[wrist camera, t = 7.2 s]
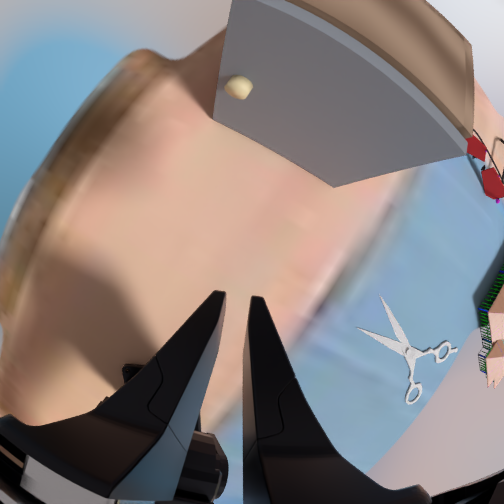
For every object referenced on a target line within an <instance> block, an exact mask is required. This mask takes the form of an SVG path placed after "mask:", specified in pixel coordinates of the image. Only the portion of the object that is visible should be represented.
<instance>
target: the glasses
mask: <svg viewBox="0 0 504 504" xmlns="http://www.w3.org/2000/svg"><path fill="white" fill-rule="evenodd" d="M473 131H474V132H475V133H476V134H477V136H478V137H479V139H480V140H481V142H482V143H481V142H480V141H479V140H478V139H477V138H476V137H475V136H474V135H473V137H470V138H467V139H465V140H466V141H467V142H468V145H467V153H469V154H471V155H472V156H473V158H472V159H474V158H478V159H480V160H482V161H484V162H485V155H486V152H488V154H489V156H490V158H491V160H492V162H493V164H494V165H495V163H494V161H493V159H492V157H491V155H490V153H489V151H488V150H487V148H486V146H485V144H484V143H483V141H482V139H481V138H480V136H479V135H478V133H477V132H476V131H475V130H474V129H473ZM501 142H502V143H503V144H504V141H503V139H501ZM495 167H496V165H495ZM496 169H497V167H496ZM481 170H483V171H481V174H482V178H483V184H484V190H485V195H486V196H488V197H490V198H492V199H496V203H499V202H500V200H499V198H503V197H504V185H503V184H504V169H503V175H502V177H501V175H500V173H499V171H498V169H497V171H498V173H499V175H498V174H497V172H496V170H495V168H494V167H493V168H490V169H486V170H485V165H484V166H483V167H482V169H481ZM499 177H500V178H501V180H500V178H499Z"/></svg>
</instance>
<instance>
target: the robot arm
mask: <svg viewBox="0 0 504 504" xmlns="http://www.w3.org/2000/svg"><path fill="white" fill-rule="evenodd" d="M225 309H226V292H225V291H219V290H214V291H213V292H212V293H211V294H210V295H209V296H208V298H207V299H206V300H205V301H204V302H203V303H202V304H201V305H200V306H199V307H198V308H197V310H196V311H195V312H194V313H193V314H192V315H191V316H190V317H189V318H188V319H187V320H186V322H185V323H184V324H183V325H182V326H181V327H180V328H179V329H178V330H177V331H176V332H175V334H174V335H173V336H172V337H171V338H170V339H169V340H168V341H167V342H166V343H165V345H164V346H163V347H162V348H161V349H160V350H159V351H158V352H157V353H156V356H153V357H152V359H151V360H150V361H149V362H148V363H147V364H146V365H133V364H125V365H124V366H123V368H122V372H123V378H124V383H125V385H124V386H122V387H121V388H120V389H119V390H118V391H116V392H115V393H114V394H113V395H112V396H110V397H107V396H106V397H105V399H104V400H103V402H102V401H100V403H99V404H98V406H97V407H96V408H95V409H93V410H92V411H90V412H87V413H85V414H82V415H79V416H75V417H72V418H68V419H65V420H61V421H57V422H53V423H50V424H46V425H41V426H30V425H26V424H25V423H23V422H22V421H20V420H19V419H17V418H16V417H14V416H13V415H11V414H8V415H5V416H3V417H1V418H0V504H214V503H213V501H214V499H217V498H219V497H220V496H221V494H222V493H223V491H224V489H225V486H226V483H227V478H228V460H227V457H226V455H225V453H224V451H223V450H222V448H221V446H220V444H219V442H218V440H217V439H216V437H215V435H214V434H211V433H207V434H206V433H203V432H201V416H200V409H201V406H202V403H203V399H204V396H205V393H206V390H207V386H208V383H209V380H210V377H211V374H212V370H213V367H214V364H215V361H216V357H217V354H218V350H219V345H220V339H221V333H222V327H223V322H224V316H225ZM126 368H128V369H129V370H130V371H127V370H126ZM295 377H296V376H295V373H294V371H293V368H292V366H291V364H290V361H289V359H288V356H287V354H286V351H285V349H284V346H283V344H282V342H281V339H280V337H279V334H278V332H277V329H276V327H275V324H274V322H273V320H272V317H271V315H270V312H269V310H268V307H267V305H266V302H265V300H264V298H263V297H260V296H251V300H250V307H249V314H248V321H247V328H246V335H245V342H244V350H243V504H504V469H502V470H500V471H498V472H496V473H494V474H491V475H489V476H486V477H485V478H482V479H479V480H477V481H474V482H471V483H468V484H466V485H463V486H460V487H457V488H454V489H451V490H448V491H445V492H442V493H439V494H436V495H433V496H431V497H430V496H429V494H428V493H427V492H426V491H425V490H424V489H423V488H422V486H420V485H413V486H410V487H406V488H402V489H398V490H390V489H386V488H384V487H382V486H380V485H379V484H377V483H376V482H375V481H373V480H372V479H370V478H369V477H368V476H366V475H365V474H364V473H363V472H361V471H360V470H359V469H357V468H356V467H355V466H353V465H352V464H351V463H350V462H348V461H347V460H346V459H345V458H343V457H342V456H341V455H340V454H339V453H338V451H337V450H336V449H335V448H334V446H333V445H332V443H331V442H330V440H329V438H328V437H327V435H326V433H325V432H324V430H323V428H322V427H321V425H320V423H319V422H318V420H317V418H316V417H315V415H314V413H313V412H312V410H311V408H310V406H309V404H308V402H307V401H306V398H305V396H304V394H303V392H302V390H301V387H300V385H299V383H298V380H297V378H295Z"/></svg>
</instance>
